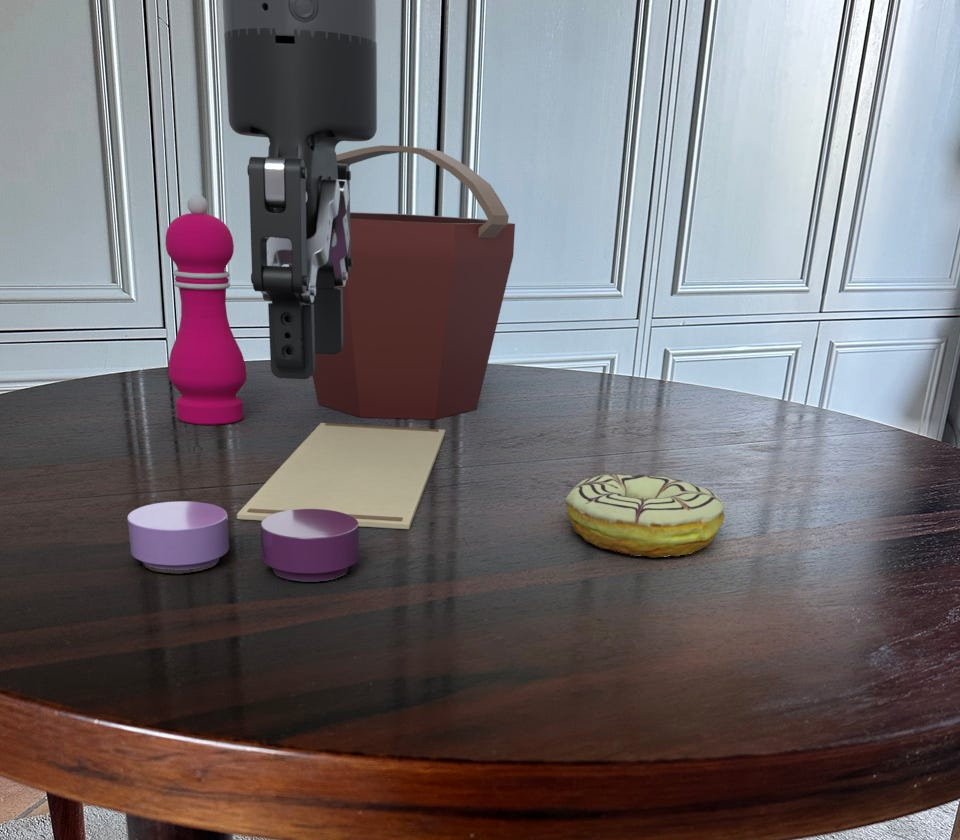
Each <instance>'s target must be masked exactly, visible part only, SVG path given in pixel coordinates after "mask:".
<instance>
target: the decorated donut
mask: <svg viewBox="0 0 960 840" xmlns="http://www.w3.org/2000/svg"><path fill="white" fill-rule="evenodd" d="M564 503H565V505H566V509H567V517H568V520H569V522H570V524H571V526H572V527H573V529H574V532H575V534H577V535H579V536H581V537H582V539H584V541H585V542H587V543H591V544H592V545H594V546H595V547H598V548H600V549H603V550H610V551H613V552H616V551H617V552H616V553H618V552H620V553H619V554H625V555H627V554H632V555H641V556H651V557H650V558H658V557H664V556H668V555H670V556H674V557H681V556H680V555H685V556H687V555H686V554H689V553H692V554H694V553H696V552H695V551H697V552H698V550H699V551H700V550H702V549H703V548H704V547H706V546H708V545H709V544H710V543H712V541H713V540H714V539H715V537H716V535H717V534H718V532H719V531H720V528H721V527H722V525H723V524H724V520H725V504H724V503H723V501H722V499H721V498H720V497H719V496H717V494H716V493H715V492H713V491H711V489H708V488H706V487H702V486H699V485H696V484H693V483H690V482H687V481H683V480H680V479H677V478H673V477H669V476H657V475H650V474H649V475H648V474H627V475H625V474H602V475H598V476H594V477H589V478H585V479H583V480H581V481H580V482H579V483H577V484H576V485H575V486H574V487H573V488H572V489H571V491H570V492H569V494H568V495H567V496H566V498H565V501H564ZM693 552H694V553H693ZM632 555H631V556H632ZM654 556H655V557H654Z"/></svg>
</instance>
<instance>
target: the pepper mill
mask: <svg viewBox="0 0 960 840" xmlns="http://www.w3.org/2000/svg"><path fill="white" fill-rule="evenodd" d="M186 205H187V210H188V211H189V212H190V213H185V214H182V215H179V216H177V217H176V218H174V219H173V220H172V221H171V222H170V223H169V225H168V227H167V230H166V233H165V250H166V252H167V255H168V256H169V258H170V259H171V260H172V262H173V263H174V264H175V266H176V268H177V269H175V270H174V271H173V272H172V273H173V276H174V282H173V285H174V286H175V287H176V288H178V291H179V297H180V305H181V306H180V322H179V327H178V329H177V330H178V331H177V334H176V337H175V339H174V342H173V345H172V348H171V351H170V354H169V359H168V379H169V381H170V382H171V384H172V386H174V387H175V389H177V391H178V392H179V393H180V397H178V398H177V399H176V400H175V408H176V417H177V419H178V420H179V421H180V422H183V423H186V424H191V425H200V426H203V425H204V426H218V425H219V426H220V425H228V424H229V425H230V424H234V423H238V422H240V421H242V420H243V418H244V402H243V399H242V398H240V397H238V396H237V394H238V393H239V391H240V390H241V389H242V388H243V386H244V385H245V384H246V381H247V378H248V377H247V375H248V374H247V367H246V363H245V359H244V356H243V352H242V351H241V348H240V346H239V345H238V342H237V340H236V338H235V337H234V336H235V335H234V334H233V332H232V329H231V326H230V323H229V319H228V313H227V305H226V303H227V302H226V299H227V297H226V296H227V289H228V288H229V289H230V287H231V283H230V282H229V281H230V280H229V277H230V276H231V274H230V272H229V271H227V270H226V268H227V266H228V264H229V263H230V261H231V260H232V258H233V256H234V251H235V249H234V248H235V244H234V238H233V235H232V232H231V230H230V229H229V227H228V226H227V225H226V223H225V222H224V221H222V220H221V219H220V218H218V217H216V216H214V215H211V214H208V213H207V211H208V207H209V206H208V205H209V204H208V201H207V200H206V198H205V197H204V196H203V195H201V194H197V193H196V194H192V195H191V196H189V198H188V199H187V201H186Z"/></svg>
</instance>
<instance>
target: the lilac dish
mask: <svg viewBox="0 0 960 840" xmlns="http://www.w3.org/2000/svg"><path fill="white" fill-rule="evenodd" d="M228 516H229V515H228V511H226V510H225V509H224V508H222V507H220V506H218V505H216V504H212V503H207V502H200V501H187V500H185V501H183V500H181V501H180V500H179V501H164V502H158V503H152V504H147V505H144V506H140V507H138V508H135V509H134V510H132V511H130V512H128V515H127V517H126V522H127V533H128V541H129V551H130V555H131V556H132V557H133V558H134V559H136V560H138V561H140V562H141V563H142V562H143V563H144V564H145V565H147V566H149V567H154V568H160V569H168V570H169V569H171V570H172V569H174V570H189V569H196V568H200V567H205V566H208V565H211V564H213V563H215V562H217V561H218V559H220V560H221V558H222V557H223V556H225V555H226V554H227V553H228V552H229V550H230V536H229V520H228Z"/></svg>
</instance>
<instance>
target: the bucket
mask: <svg viewBox="0 0 960 840" xmlns="http://www.w3.org/2000/svg"><path fill="white" fill-rule="evenodd" d="M397 153H398V154H399V153H406V154H414V155H420V156H421V157H423V158H424V159H427V160H429V161H430V162H431V163H434V164H436V165H437V166H439V167H441V168H442V169H444V170H445V171H447V172H448V173H450V174H451V175H452V176H453V177H455V178H456V179H457V180H459V181H460V182H461V184H463V185H464V186H465V187H466V188H468V189H469V190H470V193H471V194H472V195H473V197H474V198H475V200H476V201H477V203H478V204H479V206H480V208H481V209H482V211H483V212H484V216H486V218H474V217H457V216H456V217H455V216H442V215H441V216H439V215H425V214H424V215H423V214H411V213H410V214H409V213H408V214H407V213H387V212H385V213H384V212H357V211H356V212H353V211H350V230H351V258H352V260H353V265H352V267H351V270H350V273H348V279H347V281H346V285H345V287H339V286H338V288H340V289H343V348H342V350H341V351H340V352H339V353H337V354H316V353H315V372H314V374H313V375H312V376H311V377H312V382H313V386H314V391H315V395H316V400H317V404H318V405H320V406H323V407H326V408H329V409H333V410H335V411H339V412H342V413H346V414H349V415H352V416H355V417H359V418H375V419H376V418H377V419H403V420H405V419H406V420H433V421H434V420H439V419H443V418H446V417H447V418H448V417H451V416H454V415H459V414H463V413H468V412H471V411H476V410H477V409H478V406H479V403H480V402H479V401H480V397H481V393H482V389H483V385H484V380H485V378H486V377H485V376H486V372H487V368H488V364H489V361H490V355H491V351H492V348H493V343H494V339H495V334H496V329H497V327H498V326H497V325H498V322H499V317H500V313H501V309H502V305H503V301H504V296H505V293H506V289H507V284H508V279H509V276H510V271H511V267H512V263H513V259H514V252H515V251H514V249H515V232H516V223H514V222H513V223H512V222H509V216H510V215H509V213H508V211H507V210H506V208H505V205H504V204H503V203H502V200H501V199H500V197H499V195H498V194H497V192H496V191H495V190H494V188H493V186H492V185H491V183H489V182H488V181H486V180H485V179H484V178H482V177H481V176H480V175H479V174H478V173H476V172H475V171H474V170H473V169H472V168H470V167H469V166H467V165H466V164H464V163H462V162H461V161H459V160H458V159H456V158H454V157H452V156H450V155H449V154H446V153H444V152H443V151H441V150H436V149H430V148H423V147H415V146H405V145H376V146H375V145H374V146H368V147H362V148H357V149H354V150H349V151H346V152H341V153H339V154H336V158H337V164H348V166H349V167H350V166H351V165H353V164H357V163H359V162H363V161H366V160H370V159H372V158H376V157H380V156H386V155H392V154H397ZM333 233H336V231H335V229H333ZM288 267H292V265H288ZM475 409H476V410H475Z"/></svg>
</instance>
